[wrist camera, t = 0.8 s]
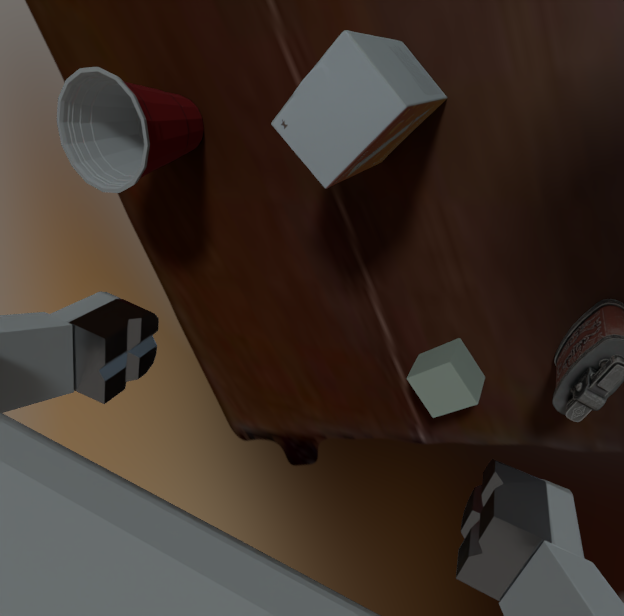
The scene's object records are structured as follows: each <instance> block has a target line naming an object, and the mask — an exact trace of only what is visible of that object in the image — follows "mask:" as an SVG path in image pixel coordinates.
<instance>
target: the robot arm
mask: <svg viewBox="0 0 624 616" xmlns="http://www.w3.org/2000/svg"><path fill="white" fill-rule="evenodd" d="M157 331H158V317H157V316H156V315H155V314H154V313H152V312H150V311H148V310H145V309H143V308H141V307H139V306H137V305H134V304H132V303H130V302H128V301H126V300H123V299H120V298H119V297H116V296H114V295H112V294H110V293H107V292H98V293H96V294H94V295H91V296H89V297H87V298H85V299H82V300H81V301H78V302H76V303H74V304H71V305H69V306H67V307H65V308H62V309H61V310H58V311H56V312H54V313H52V314H48V313H45V312H39V313H26V314H13V315H0V616H380V615H378V614H377V613H375V612H373V611H371V610H369V609H367V608H365V607H363V606H362V605H360V604H358V603H356V602H354V601H352V600H350V599H349V598H347V597H345V596H343V595H341V594H339V593H337V592H335V591H334V590H332V589H330V588H328V587H326V586H324V585H322V584H321V583H319V582H317V581H315V580H313V579H311V578H309V577H307V576H306V575H304V574H302V573H300V572H298V571H296V570H294V569H292V568H291V567H289V566H287V565H285V564H283V563H281V562H279V561H278V560H275V559H274V558H272V557H270V556H268V555H266V554H265V553H263V552H261V551H259V550H257V549H255V548H253V547H252V546H250V545H248V544H246V543H244V542H242V541H240V540H238V539H237V538H235V537H233V536H231V535H229V534H227V533H225V532H223V531H222V530H219V529H218V528H216V527H214V526H212V525H210V524H208V523H207V522H205V521H203V520H201V519H199V518H197V517H195V516H193V515H192V514H190V513H188V512H186V511H184V510H182V509H180V508H178V507H176V506H175V505H173V504H171V503H169V502H167V501H165V500H164V499H162V498H160V497H158V496H156V495H154V494H152V493H150V492H149V491H147V490H145V489H143V488H141V487H139V486H137V485H135V484H134V483H132V482H130V481H128V480H126V479H124V478H122V477H120V476H118V475H117V474H115V473H113V472H111V471H109V470H107V469H105V468H104V467H102V466H100V465H98V464H96V463H94V462H92V461H90V460H89V459H87V458H84V457H83V456H81V455H79V454H77V453H76V452H74V451H72V450H70V449H68V448H66V447H64V446H62V445H61V444H59V443H57V442H55V441H53V440H51V439H49V438H47V437H46V436H44V435H42V434H40V433H38V432H36V431H34V430H32V429H31V428H29V427H27V426H25V425H23V424H21V423H19V422H17V421H16V420H14V419H12V418H10V417H8V416H6V415H4V414H2V413H3V412H6V411H10V410H14V409H17V408H20V407H24V406H28V405H31V404H34V403H38V402H41V401H45V400H48V399H52V398H55V397H58V396H62V395H66V394H69V393H73V392H74V390H75V391H77V392H79V393H82V394H84V395H86V396H88V397H90V398H92V399H95V400H97V401H99V402H101V403H103V404H105V403H107V402H108V401H109V400H111V399H112V398H113V397H115V396H116V395H117V394H119V393H120V392H122V391H123V390H124V389H125V386H126V382H127V381H131V380H137V379H139V378H140V377H142V376H143V375H144V374H145V373H146V372H147V371H148V370H149V368H150V367H151V365H152V364H153V362H154V359H155V356H156V350H157V345H156V342H155V340H154V338H153V336H152V335H153V334H154V333H156V332H157ZM461 533H462V535H463V536H464V538H465V539H464V541H463V543H462V545H461V546H460V548H459V552H458V563H457V572H456V573H457V574H456V579H458V580H460V581H462V582H464V583H466V584H468V585H469V586H471V587H473V588H475V589H477V590H479V591H481V592H483V593H485V594H486V595H488V596H490V597H492V598H494V599H496V600H498V601H500V603H499V604H500V607H501V609H502V612H503V614H504V616H624V603H623V602H622V601H621V599H620V598H619V597H618V595H617V594H616V593H615V591H614V590H613V589H612V587H611V586H610V585H609V584H608V582H607V581H606V580H605V578H604V577H603V576H602V575H601V573H600V572H599V570H598V569H597V568H596V566H595V565H594V564H593V562H590V561H588V560H586V559H584V555H583V549H582V543H581V538H580V532H579V526H578V521H577V515H576V511H575V505H574V499H573V494H572V493H571V491H570V490H569V489H566V488H563V487H561V486H559V485H556V484H554V483H551V482H548V481H546V480H541V479H539V478H537V477H534V476H532V475H529V474H527V473H525V472H522V471H520V470H517V469H515V468H513V467H511V466H508V465H506V464H503V463H501V462H499V461H496V460H494V459H492V460H491V461H490V462H489V463H488V465H487V466H486V468H485V470H484V472H483V481H482V485H480V486H477V487H475V488H474V490H473V492H472V494H471V496H470V497H469V500H468V502H467V505H466V508H465V510H464V514H463V519H462V525H461Z"/></svg>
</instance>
